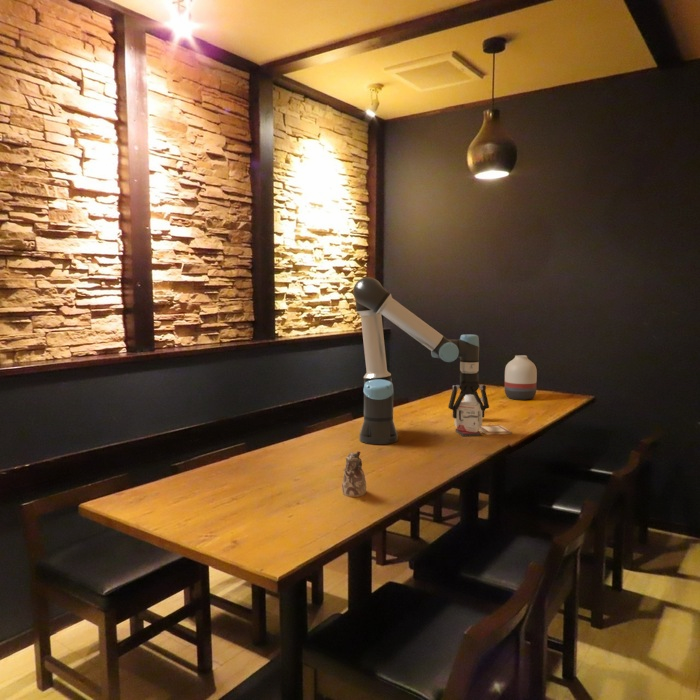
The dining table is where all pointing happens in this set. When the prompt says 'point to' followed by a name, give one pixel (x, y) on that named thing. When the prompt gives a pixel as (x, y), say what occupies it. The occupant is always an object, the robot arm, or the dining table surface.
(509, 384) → the vase
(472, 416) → the ink box
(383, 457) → the dining table surface
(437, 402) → the dining table surface
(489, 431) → the board
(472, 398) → the mug
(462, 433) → the ink pad
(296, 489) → the dining table surface
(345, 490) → the figurine
